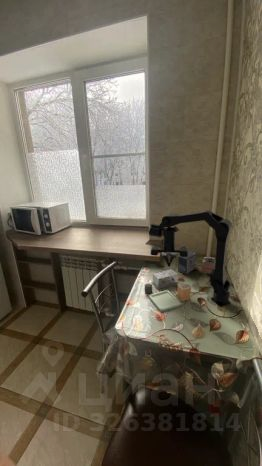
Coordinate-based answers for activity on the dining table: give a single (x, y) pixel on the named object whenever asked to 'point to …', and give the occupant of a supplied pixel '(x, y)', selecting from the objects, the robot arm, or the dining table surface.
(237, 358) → the dining table surface
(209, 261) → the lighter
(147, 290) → the dark rounded cylinder
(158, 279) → the box
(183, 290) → the square block
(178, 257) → the industrial component
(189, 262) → the small box
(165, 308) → the tray
